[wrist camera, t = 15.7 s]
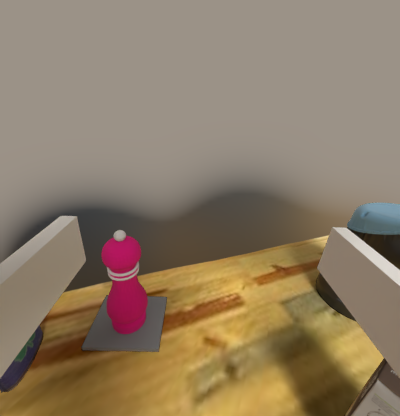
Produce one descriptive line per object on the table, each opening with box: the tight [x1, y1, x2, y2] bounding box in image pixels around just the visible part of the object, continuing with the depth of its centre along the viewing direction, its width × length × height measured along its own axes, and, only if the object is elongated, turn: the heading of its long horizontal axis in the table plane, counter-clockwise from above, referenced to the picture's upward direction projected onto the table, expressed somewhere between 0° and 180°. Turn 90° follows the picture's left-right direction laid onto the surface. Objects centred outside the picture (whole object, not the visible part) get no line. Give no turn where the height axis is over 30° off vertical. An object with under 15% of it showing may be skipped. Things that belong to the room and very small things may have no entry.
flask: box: [0, 325, 43, 393], centre depth 32 cm, size 9×3×11 cm, turn 8°
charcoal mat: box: [81, 295, 167, 352], centre depth 41 cm, size 13×11×1 cm
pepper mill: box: [102, 230, 148, 334], centre depth 37 cm, size 7×7×20 cm
